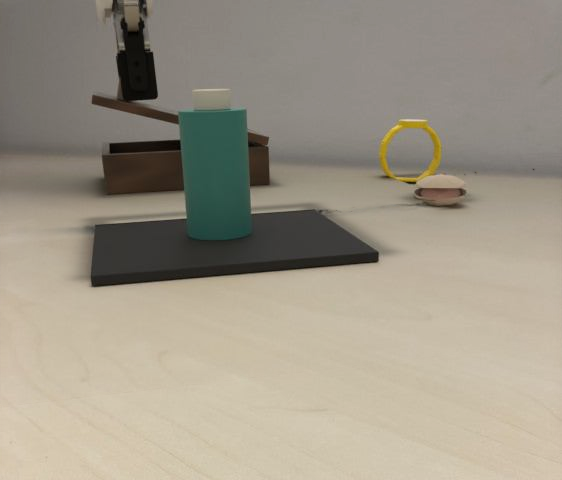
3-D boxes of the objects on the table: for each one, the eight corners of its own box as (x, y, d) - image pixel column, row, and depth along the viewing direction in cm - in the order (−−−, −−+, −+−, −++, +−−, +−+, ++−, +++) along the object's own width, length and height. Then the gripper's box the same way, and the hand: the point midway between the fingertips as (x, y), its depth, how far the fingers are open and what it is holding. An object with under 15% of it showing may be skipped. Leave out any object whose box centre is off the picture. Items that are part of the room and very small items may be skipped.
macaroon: (411, 208, 58) (413, 177, 57) (415, 198, 62) (417, 168, 61) (465, 209, 57) (468, 177, 56) (465, 198, 61) (468, 169, 60)
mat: (91, 286, 39) (90, 276, 39) (96, 226, 55) (95, 219, 54) (379, 261, 43) (379, 251, 42) (308, 211, 58) (307, 204, 58)
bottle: (191, 242, 46) (179, 91, 42) (185, 229, 50) (173, 90, 46) (257, 237, 47) (251, 89, 43) (246, 225, 51) (239, 87, 47)
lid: (91, 103, 61) (100, 35, 60) (93, 99, 73) (101, 41, 71) (267, 145, 66) (281, 83, 64) (244, 135, 77) (255, 81, 75)
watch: (383, 185, 69) (384, 121, 67) (376, 181, 72) (377, 120, 69) (442, 182, 70) (445, 119, 67) (433, 179, 72) (436, 117, 70)
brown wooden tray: (107, 202, 65) (101, 155, 63) (107, 183, 76) (102, 142, 74) (270, 191, 68) (268, 146, 66) (247, 175, 79) (245, 135, 77)
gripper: (70, -100, 68) (100, 100, 75) (60, -154, 52) (98, 104, 59) (149, -101, 69) (170, 95, 76) (162, -154, 54) (187, 98, 61)
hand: (139, 97), depth 68 cm, fingers closed on lid, 6 cm apart
